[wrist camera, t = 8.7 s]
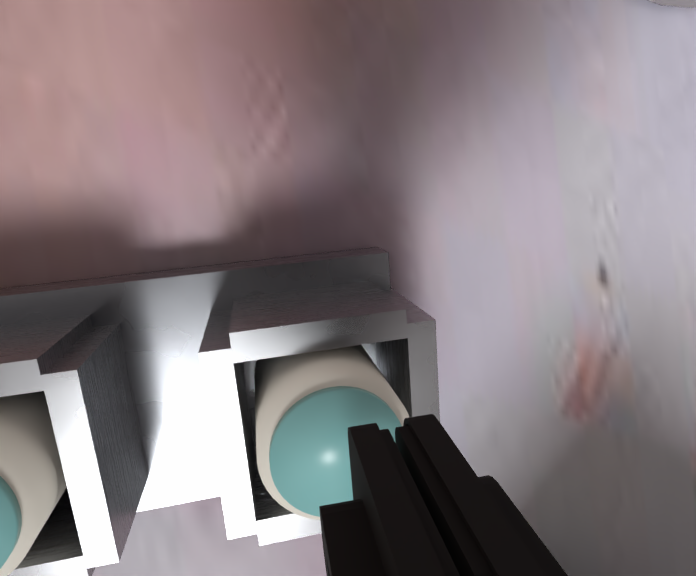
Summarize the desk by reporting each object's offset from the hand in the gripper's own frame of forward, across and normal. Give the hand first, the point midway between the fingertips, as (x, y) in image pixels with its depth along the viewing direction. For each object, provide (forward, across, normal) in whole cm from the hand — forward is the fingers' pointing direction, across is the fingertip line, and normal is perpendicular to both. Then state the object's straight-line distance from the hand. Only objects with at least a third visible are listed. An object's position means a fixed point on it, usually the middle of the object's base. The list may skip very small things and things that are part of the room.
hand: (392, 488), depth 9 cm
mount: (+9, +5, +1) cm, 11 cm away
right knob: (+8, +1, +1) cm, 8 cm away
